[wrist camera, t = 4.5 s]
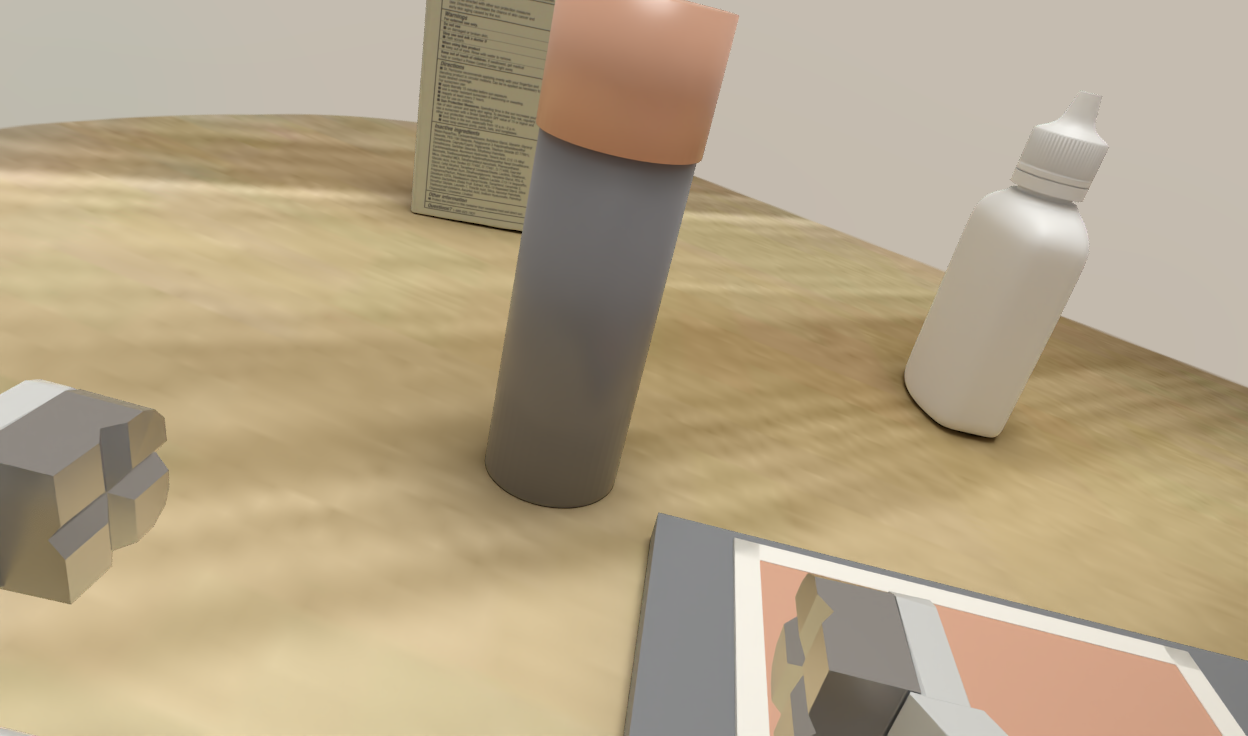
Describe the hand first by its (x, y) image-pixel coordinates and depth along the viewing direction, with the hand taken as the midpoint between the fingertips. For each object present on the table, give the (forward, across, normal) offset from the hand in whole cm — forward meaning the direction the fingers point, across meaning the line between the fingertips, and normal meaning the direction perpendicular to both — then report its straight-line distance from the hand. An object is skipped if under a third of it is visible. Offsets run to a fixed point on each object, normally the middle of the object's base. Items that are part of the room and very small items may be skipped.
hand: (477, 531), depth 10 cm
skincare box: (+30, +8, +6) cm, 32 cm away
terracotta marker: (+10, 0, +6) cm, 12 cm away
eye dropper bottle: (+21, -14, +6) cm, 26 cm away
